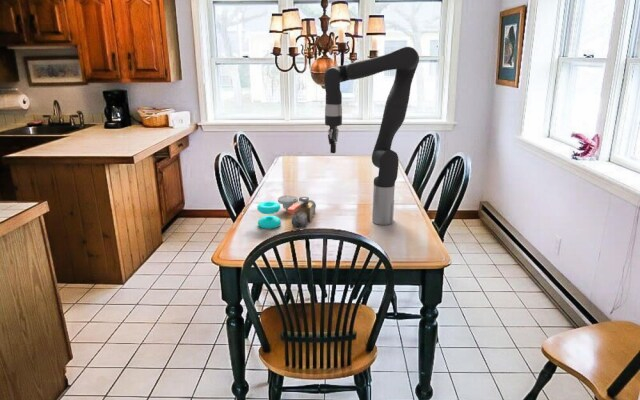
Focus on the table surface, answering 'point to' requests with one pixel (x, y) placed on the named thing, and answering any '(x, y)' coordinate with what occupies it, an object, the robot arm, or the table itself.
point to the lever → (298, 205)
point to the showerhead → (287, 201)
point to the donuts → (269, 208)
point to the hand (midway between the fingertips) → (333, 152)
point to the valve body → (304, 215)
